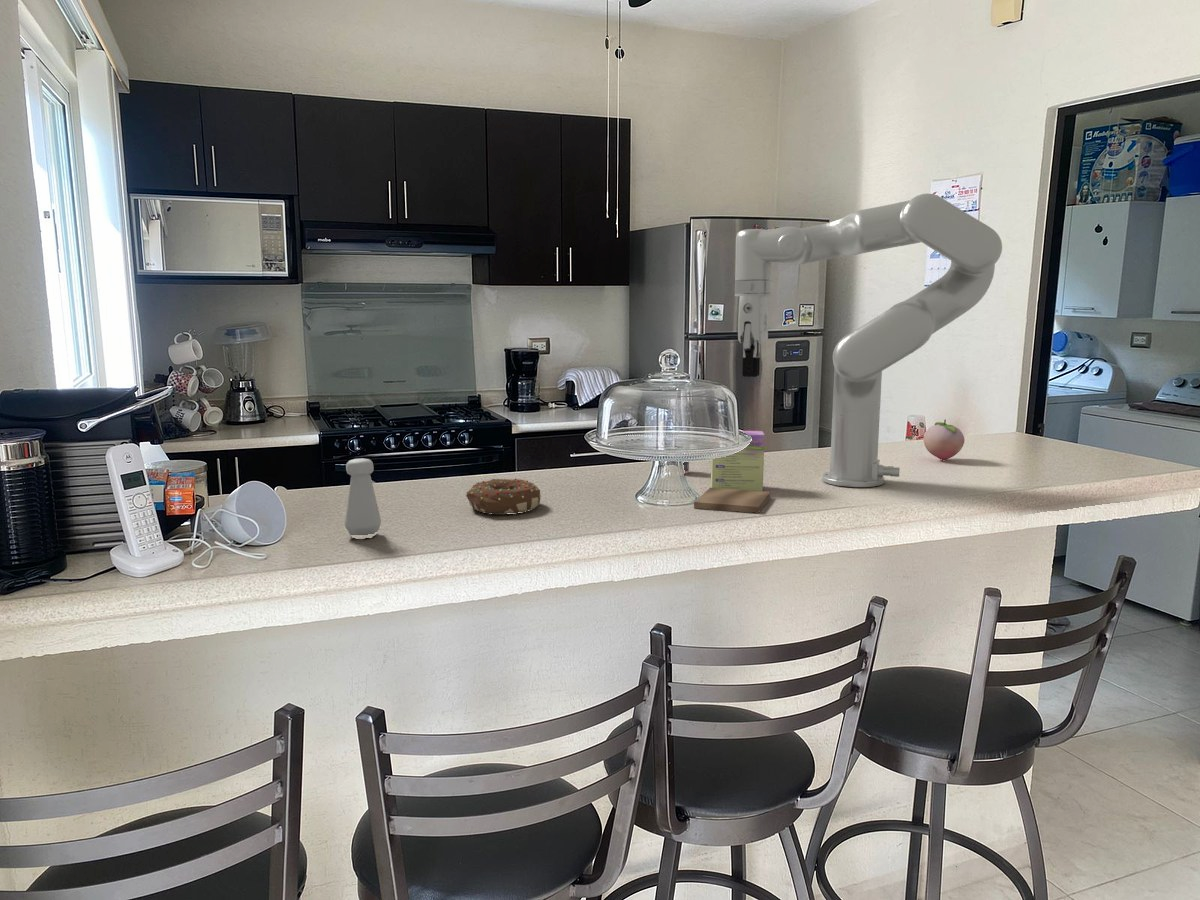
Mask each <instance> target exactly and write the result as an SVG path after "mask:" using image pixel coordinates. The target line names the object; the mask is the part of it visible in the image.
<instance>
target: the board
mask: <svg viewBox="0 0 1200 900" xmlns="http://www.w3.org/2000/svg"><path fill="white" fill-rule="evenodd" d="M770 499H771V491H764V490H763V491H750V490H736V489H722V488H712V487H709V488H708V489H707V490H706V491H705V492H703V494H701V495H700V496H699V497H698V498H696V500H695V501H693V509H697V508H703V509H702V510H710V509H715V510H714V511H723V510H726V511H725V512H735V511H739V513H748V512H755V513H754V514H759V513H760V512H761V510H762V509H763V508H764V507H763V506H766V504H767V503H768V502H769V500H770ZM759 511H760V512H759Z"/></svg>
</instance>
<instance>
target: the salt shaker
mask: <svg viewBox="0 0 1200 900" xmlns="http://www.w3.org/2000/svg"><path fill="white" fill-rule="evenodd" d="M373 462H374V461H372V460H371V459H370V458H363V457H361V458H353V459H350V460H348V461H347V462H346V465H345V470H346V474H347V475H349V476H350V483H349V490H348V494H347V495H348V496H347V501H346V502H347V504H346V509H345V518H344V527H345V528H346V530H347V533H349V535H350V536H351V535H368V534H374V533H375V532H377V531H378V532H379V530H380V528H381V525H382V519H381V515H380V511H379V506H378V501H377V497H376V494H375V488H374V485H373V480H372V477H371V474H372V473H373V472H374V470H375V469H374V463H373Z"/></svg>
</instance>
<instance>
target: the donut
mask: <svg viewBox="0 0 1200 900" xmlns="http://www.w3.org/2000/svg"><path fill="white" fill-rule="evenodd" d="M541 495H542V494H541V490H540V489H539V488H538V486H537V485H535V483H534V482H531V481H529V480H527V479H518V478H514V479H513V478H510V479H509V478H507V479H506V478H504V479H503V478H498V477H497V478H493V479H492V478H490V479H489V480H483V481H481V482H480V481H478V482H475V484H473V485H472V486H471V488H470V489H469V490H468V491H467V492H466V495H465V497H466V498H467V500H468V502H469V506H471V507H472V509H473V511H475V510H477V511H476V512H478V511H480V512H485V513H492V514H507V513H518V512H525V511H528V510H531V509H533V510H535V508H536V507H537V506H539V504H540V503H541V497H542V496H541ZM531 511H532V510H531ZM480 512H479V513H480ZM525 513H526V512H525Z"/></svg>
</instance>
